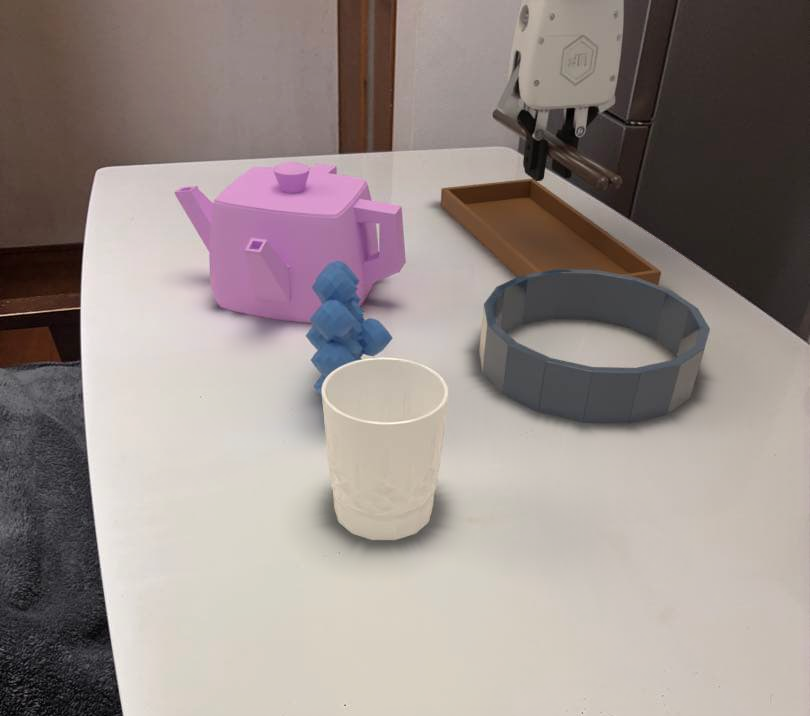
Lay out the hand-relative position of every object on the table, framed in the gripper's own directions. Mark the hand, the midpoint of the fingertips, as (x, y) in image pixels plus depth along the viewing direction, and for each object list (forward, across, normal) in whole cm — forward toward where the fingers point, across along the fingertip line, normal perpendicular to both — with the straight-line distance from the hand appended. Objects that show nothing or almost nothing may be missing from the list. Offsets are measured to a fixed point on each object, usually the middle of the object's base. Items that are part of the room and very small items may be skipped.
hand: (547, 173), depth 90 cm
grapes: (+8, -30, -24) cm, 39 cm away
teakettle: (+8, -29, -4) cm, 30 cm away
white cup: (+8, -32, -38) cm, 50 cm away
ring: (+8, -8, -25) cm, 27 cm away
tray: (+8, 0, 0) cm, 8 cm away
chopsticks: (-2, 0, 0) cm, 2 cm away
